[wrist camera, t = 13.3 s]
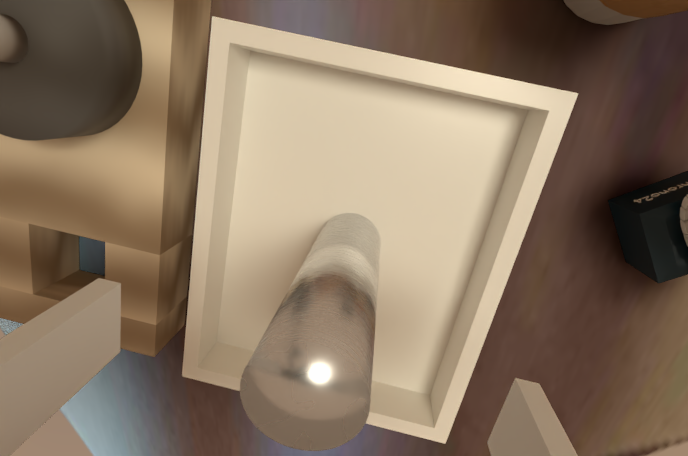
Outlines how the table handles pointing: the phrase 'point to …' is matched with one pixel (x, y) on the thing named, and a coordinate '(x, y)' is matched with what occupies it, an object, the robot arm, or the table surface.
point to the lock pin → (320, 344)
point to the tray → (363, 203)
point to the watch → (655, 227)
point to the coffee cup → (623, 9)
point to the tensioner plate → (101, 154)
